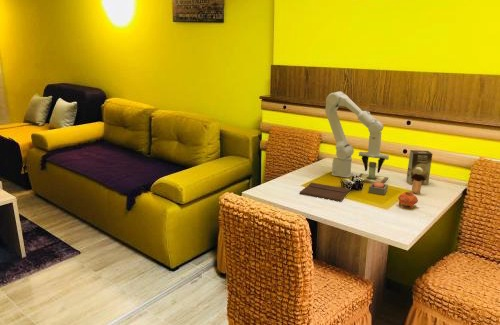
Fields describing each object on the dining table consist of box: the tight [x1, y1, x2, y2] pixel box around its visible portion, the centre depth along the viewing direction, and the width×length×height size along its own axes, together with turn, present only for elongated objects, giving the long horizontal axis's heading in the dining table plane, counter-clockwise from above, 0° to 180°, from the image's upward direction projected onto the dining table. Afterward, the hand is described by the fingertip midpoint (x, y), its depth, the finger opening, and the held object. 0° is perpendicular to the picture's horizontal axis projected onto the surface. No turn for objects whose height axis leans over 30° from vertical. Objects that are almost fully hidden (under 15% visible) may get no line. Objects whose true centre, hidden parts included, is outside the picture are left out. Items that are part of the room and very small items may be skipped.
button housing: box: [368, 183, 389, 196], centre depth 192 cm, size 7×7×3 cm
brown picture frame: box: [357, 172, 389, 185], centre depth 209 cm, size 14×12×1 cm
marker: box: [368, 161, 377, 179], centre depth 207 cm, size 3×3×8 cm
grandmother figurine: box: [409, 167, 427, 195], centre depth 189 cm, size 8×4×13 cm, turn 62°
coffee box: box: [405, 149, 433, 186], centre depth 202 cm, size 9×6×16 cm
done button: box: [374, 182, 385, 188], centre depth 191 cm, size 4×4×2 cm
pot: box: [397, 191, 419, 209], centre depth 174 cm, size 8×8×7 cm
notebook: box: [299, 182, 352, 203], centre depth 191 cm, size 15×20×2 cm
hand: (372, 171), depth 208 cm, fingers open, 6 cm apart
